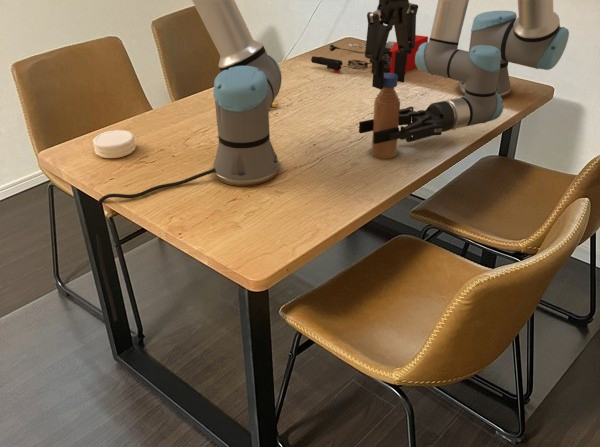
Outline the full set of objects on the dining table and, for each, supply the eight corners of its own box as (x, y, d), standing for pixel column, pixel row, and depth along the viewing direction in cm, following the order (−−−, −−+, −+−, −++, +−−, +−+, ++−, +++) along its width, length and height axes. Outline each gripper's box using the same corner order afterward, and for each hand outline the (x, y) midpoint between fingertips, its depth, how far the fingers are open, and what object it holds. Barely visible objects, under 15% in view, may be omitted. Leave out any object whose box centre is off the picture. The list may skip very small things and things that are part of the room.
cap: (389, 89, 141) (389, 79, 140) (375, 85, 144) (376, 75, 142) (400, 85, 143) (401, 75, 142) (387, 80, 146) (388, 71, 145)
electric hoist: (310, 36, 203) (391, 51, 188) (352, 23, 222) (429, 35, 207) (309, 67, 208) (388, 83, 193) (351, 51, 227) (425, 65, 212)
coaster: (106, 163, 150) (103, 149, 148) (88, 149, 156) (85, 137, 155) (143, 150, 156) (141, 137, 154) (124, 138, 162) (122, 126, 160)
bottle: (367, 150, 155) (371, 75, 144) (389, 146, 156) (394, 72, 146) (378, 160, 150) (382, 83, 139) (400, 156, 151) (406, 80, 141)
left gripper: (375, -12, 124) (369, 98, 136) (439, -25, 134) (428, 79, 146) (349, -18, 129) (346, 89, 141) (413, -30, 139) (405, 71, 151)
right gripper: (468, 143, 150) (387, 163, 142) (423, 116, 165) (347, 132, 157) (472, 114, 146) (389, 133, 138) (426, 89, 161) (348, 104, 153)
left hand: (388, 84), depth 143 cm, fingers open, 6 cm apart
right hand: (367, 132), depth 148 cm, fingers closed on bottle, 6 cm apart
